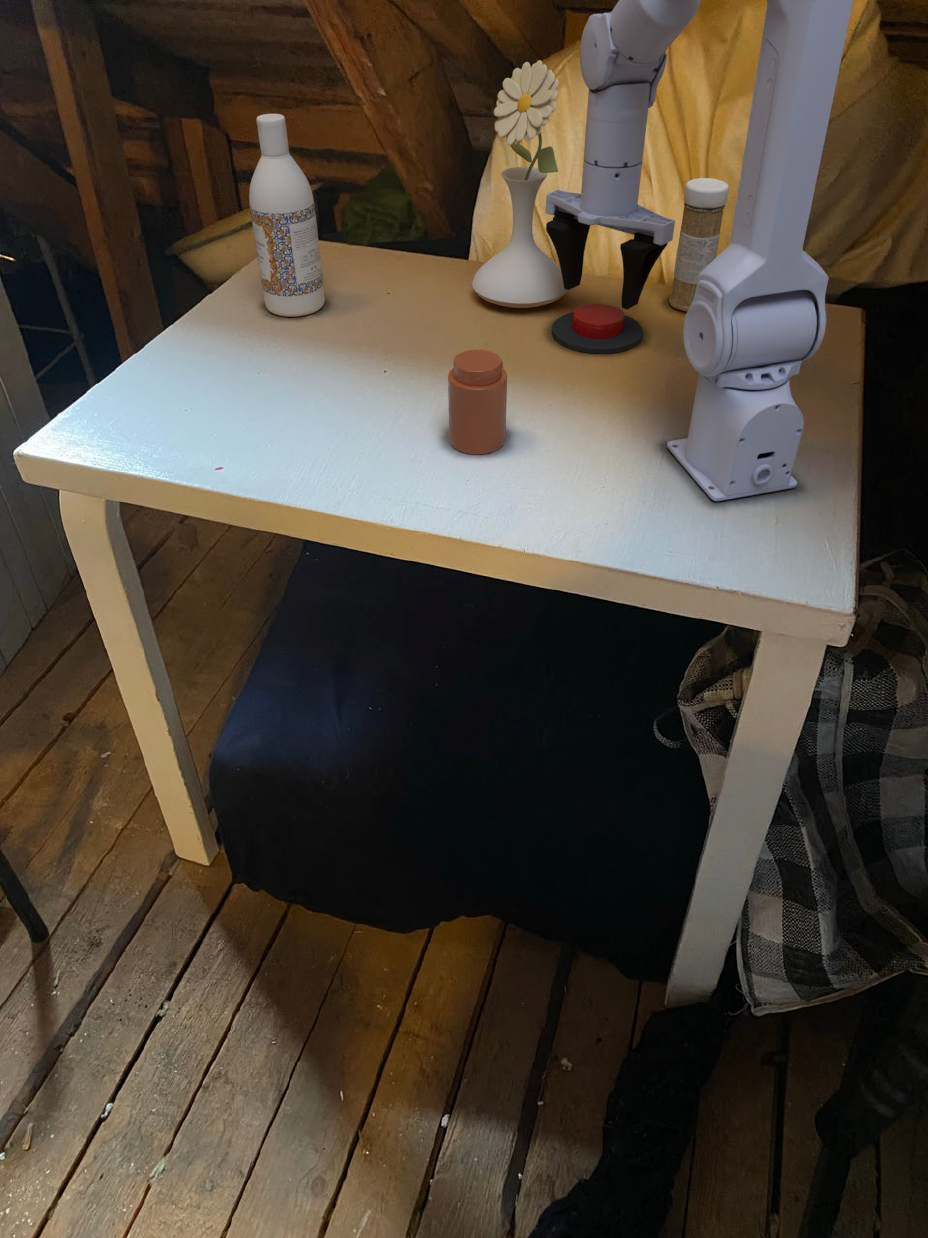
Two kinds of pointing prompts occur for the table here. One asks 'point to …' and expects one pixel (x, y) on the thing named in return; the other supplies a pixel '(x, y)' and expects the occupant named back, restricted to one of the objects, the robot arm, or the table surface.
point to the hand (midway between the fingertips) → (600, 296)
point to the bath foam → (284, 226)
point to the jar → (477, 402)
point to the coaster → (574, 341)
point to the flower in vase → (523, 195)
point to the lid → (598, 321)
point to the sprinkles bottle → (697, 236)
